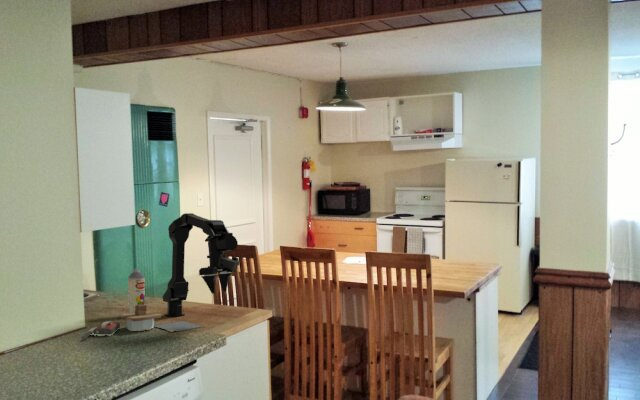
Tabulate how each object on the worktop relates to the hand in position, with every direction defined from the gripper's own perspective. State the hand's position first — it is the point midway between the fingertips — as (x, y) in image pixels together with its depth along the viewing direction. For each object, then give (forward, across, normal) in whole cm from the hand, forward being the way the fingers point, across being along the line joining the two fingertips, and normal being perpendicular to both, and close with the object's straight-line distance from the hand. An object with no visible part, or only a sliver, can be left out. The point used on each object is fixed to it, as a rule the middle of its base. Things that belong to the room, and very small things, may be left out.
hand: (219, 292), depth 221 cm
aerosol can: (+8, +6, +43) cm, 45 cm away
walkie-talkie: (+11, -25, +35) cm, 45 cm away
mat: (+12, -4, +17) cm, 21 cm away
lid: (+6, -12, +27) cm, 31 cm away
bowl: (+11, -12, +28) cm, 32 cm away
